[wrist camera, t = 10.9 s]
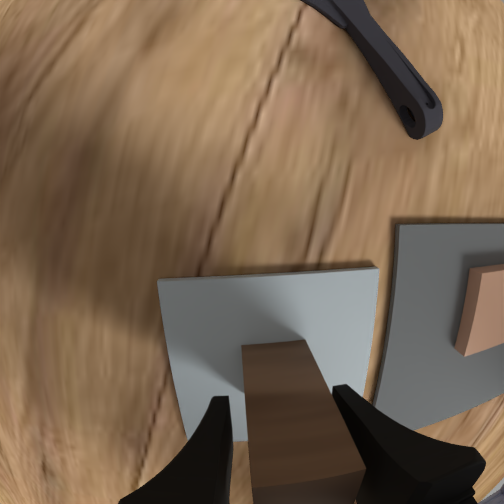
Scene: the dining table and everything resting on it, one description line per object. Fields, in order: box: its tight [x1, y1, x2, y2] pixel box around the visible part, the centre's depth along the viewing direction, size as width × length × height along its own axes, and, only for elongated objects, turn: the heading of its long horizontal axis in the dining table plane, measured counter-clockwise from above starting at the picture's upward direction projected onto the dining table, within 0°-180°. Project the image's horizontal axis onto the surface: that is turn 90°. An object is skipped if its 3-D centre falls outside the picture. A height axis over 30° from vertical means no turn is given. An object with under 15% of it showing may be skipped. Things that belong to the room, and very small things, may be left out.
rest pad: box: [157, 267, 379, 442], centre depth 14 cm, size 10×10×1 cm
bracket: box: [301, 0, 443, 140], centre depth 10 cm, size 14×15×3 cm
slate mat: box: [372, 223, 504, 430], centre depth 15 cm, size 14×18×1 cm
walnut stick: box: [241, 340, 366, 504], centre depth 10 cm, size 3×3×8 cm
